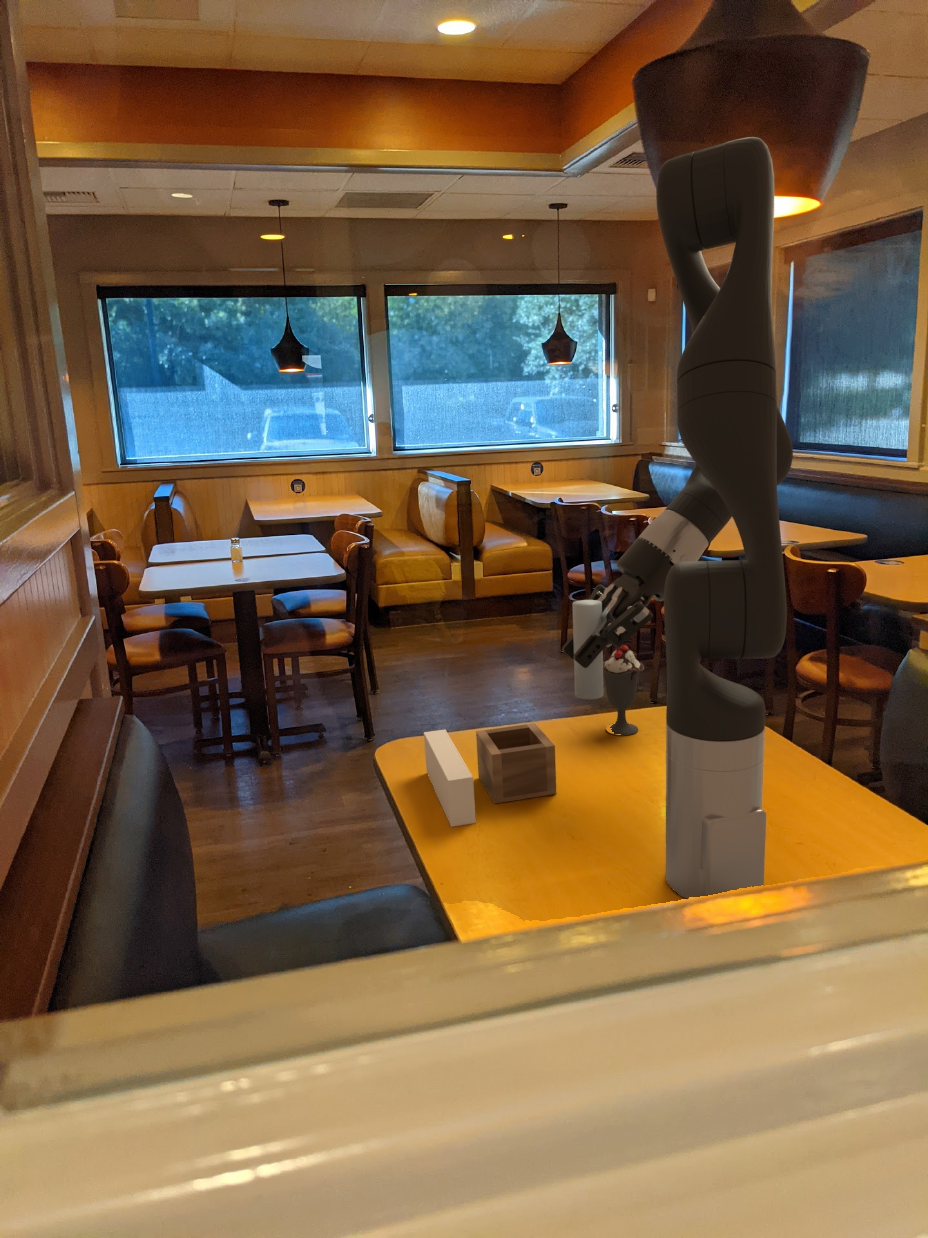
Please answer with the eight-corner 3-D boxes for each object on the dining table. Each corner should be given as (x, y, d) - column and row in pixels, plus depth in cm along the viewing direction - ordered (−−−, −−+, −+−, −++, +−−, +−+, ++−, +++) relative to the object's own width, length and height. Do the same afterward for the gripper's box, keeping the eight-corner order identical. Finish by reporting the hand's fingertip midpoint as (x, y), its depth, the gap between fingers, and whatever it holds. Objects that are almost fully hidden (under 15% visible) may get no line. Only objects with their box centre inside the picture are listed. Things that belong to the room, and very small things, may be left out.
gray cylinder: (607, 697, 105) (606, 604, 102) (580, 700, 104) (578, 607, 101) (597, 689, 108) (595, 598, 105) (570, 692, 107) (568, 601, 105)
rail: (475, 823, 100) (473, 777, 98) (451, 827, 99) (448, 780, 98) (447, 769, 115) (445, 729, 114) (426, 773, 114) (423, 732, 113)
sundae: (614, 741, 121) (613, 643, 118) (591, 726, 127) (589, 632, 124) (653, 733, 124) (653, 636, 120) (628, 719, 130) (627, 626, 126)
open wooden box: (556, 793, 106) (554, 745, 104) (494, 803, 104) (491, 754, 103) (536, 768, 114) (534, 723, 112) (478, 777, 112) (476, 731, 110)
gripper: (619, 529, 110) (534, 628, 110) (668, 542, 96) (571, 655, 96) (657, 565, 112) (573, 662, 112) (710, 583, 98) (615, 693, 99)
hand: (573, 658), depth 104 cm, fingers closed on gray cylinder, 3 cm apart
